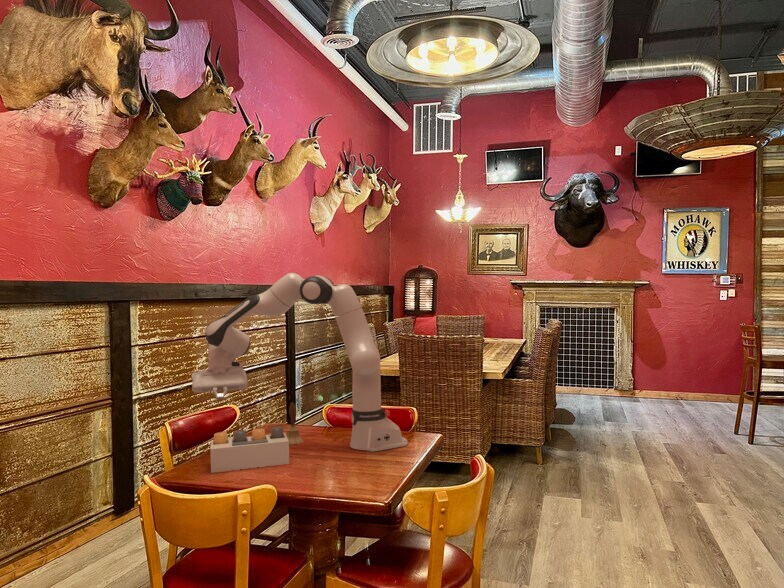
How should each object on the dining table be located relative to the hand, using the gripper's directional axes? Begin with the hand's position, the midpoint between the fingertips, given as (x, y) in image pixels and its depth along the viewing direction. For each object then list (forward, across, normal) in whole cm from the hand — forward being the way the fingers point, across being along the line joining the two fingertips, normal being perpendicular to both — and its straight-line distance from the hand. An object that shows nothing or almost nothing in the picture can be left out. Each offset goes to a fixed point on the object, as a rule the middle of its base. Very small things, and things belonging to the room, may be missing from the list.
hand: (220, 398), depth 202 cm
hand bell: (+10, +27, +20) cm, 35 cm away
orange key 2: (+20, +13, +3) cm, 24 cm away
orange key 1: (+20, 0, +3) cm, 21 cm away
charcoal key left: (+20, +20, +3) cm, 28 cm away
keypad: (+25, +10, +5) cm, 27 cm away
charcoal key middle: (+20, +6, +3) cm, 22 cm away
